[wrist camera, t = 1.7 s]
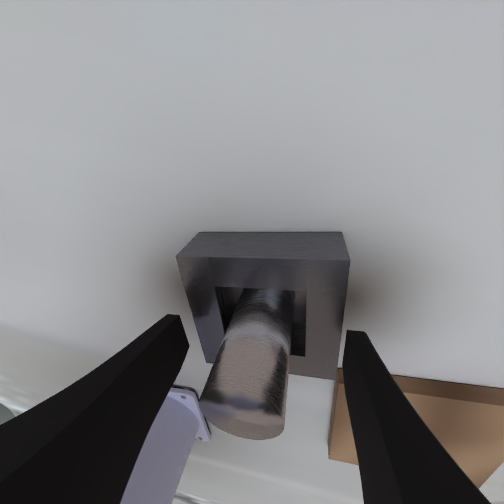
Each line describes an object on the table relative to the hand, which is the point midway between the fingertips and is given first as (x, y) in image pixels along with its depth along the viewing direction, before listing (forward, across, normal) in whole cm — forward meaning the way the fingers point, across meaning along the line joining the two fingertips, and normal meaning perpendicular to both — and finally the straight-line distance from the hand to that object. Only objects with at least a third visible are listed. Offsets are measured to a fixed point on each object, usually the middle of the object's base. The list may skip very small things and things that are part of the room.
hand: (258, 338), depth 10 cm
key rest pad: (+3, -9, +11) cm, 15 cm away
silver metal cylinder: (+3, 0, 0) cm, 3 cm away
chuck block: (+3, 0, 0) cm, 3 cm away
